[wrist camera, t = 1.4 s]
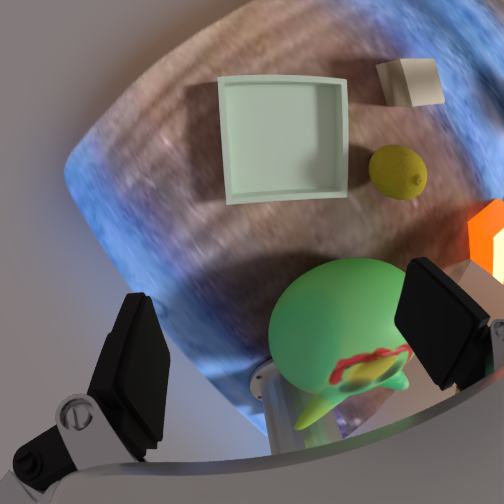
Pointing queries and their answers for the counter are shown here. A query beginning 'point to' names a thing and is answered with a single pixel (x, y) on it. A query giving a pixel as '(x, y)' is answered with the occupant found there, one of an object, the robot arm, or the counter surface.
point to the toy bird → (340, 333)
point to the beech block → (410, 82)
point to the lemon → (397, 172)
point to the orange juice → (488, 239)
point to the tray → (283, 137)
